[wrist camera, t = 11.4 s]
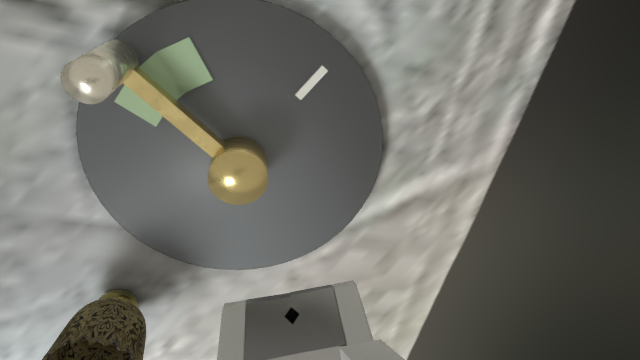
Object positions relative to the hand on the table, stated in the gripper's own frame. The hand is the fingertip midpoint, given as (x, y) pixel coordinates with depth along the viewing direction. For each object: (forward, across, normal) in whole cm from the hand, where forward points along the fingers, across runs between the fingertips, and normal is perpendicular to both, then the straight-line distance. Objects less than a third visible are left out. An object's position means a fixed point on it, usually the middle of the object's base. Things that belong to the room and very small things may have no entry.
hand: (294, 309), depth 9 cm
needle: (+22, -6, -3) cm, 23 cm away
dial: (+23, -4, -7) cm, 24 cm away
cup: (+23, -18, -20) cm, 36 cm away
